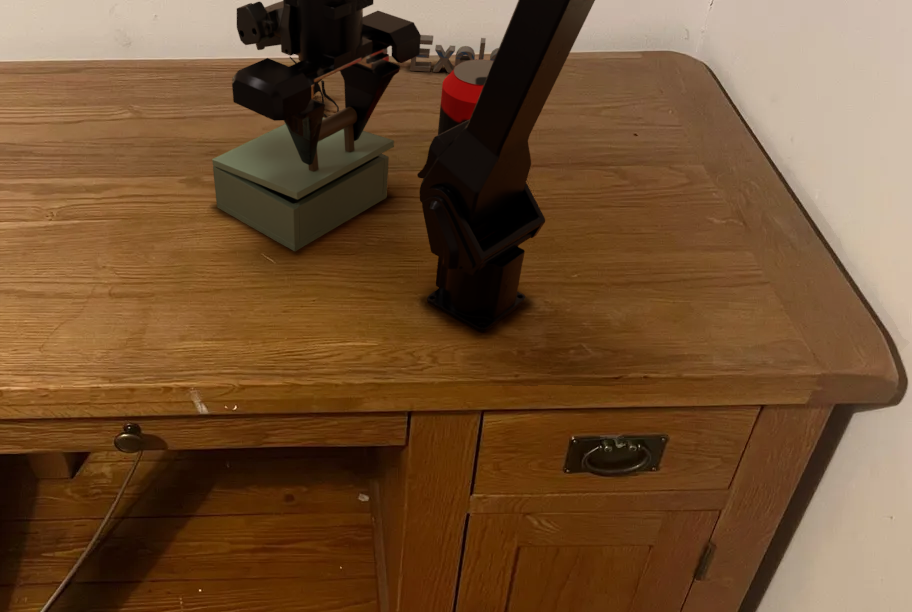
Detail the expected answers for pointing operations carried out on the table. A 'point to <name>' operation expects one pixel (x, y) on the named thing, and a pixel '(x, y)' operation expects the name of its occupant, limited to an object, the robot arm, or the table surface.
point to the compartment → (302, 203)
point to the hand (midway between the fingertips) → (330, 150)
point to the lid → (282, 166)
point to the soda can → (462, 92)
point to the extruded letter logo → (446, 55)
